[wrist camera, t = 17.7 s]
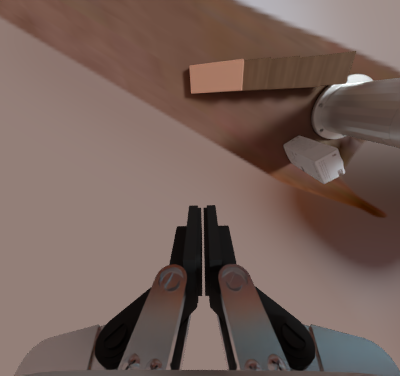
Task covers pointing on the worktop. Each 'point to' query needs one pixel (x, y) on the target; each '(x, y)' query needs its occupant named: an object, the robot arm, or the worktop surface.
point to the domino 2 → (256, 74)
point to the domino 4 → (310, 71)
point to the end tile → (217, 76)
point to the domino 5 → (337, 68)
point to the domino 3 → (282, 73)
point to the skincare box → (315, 158)
